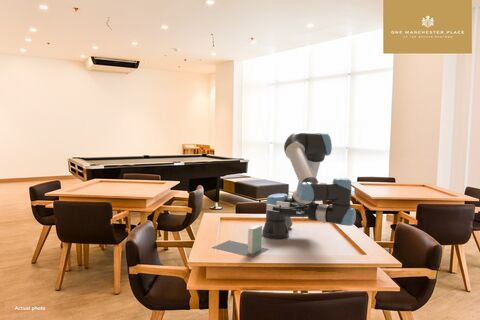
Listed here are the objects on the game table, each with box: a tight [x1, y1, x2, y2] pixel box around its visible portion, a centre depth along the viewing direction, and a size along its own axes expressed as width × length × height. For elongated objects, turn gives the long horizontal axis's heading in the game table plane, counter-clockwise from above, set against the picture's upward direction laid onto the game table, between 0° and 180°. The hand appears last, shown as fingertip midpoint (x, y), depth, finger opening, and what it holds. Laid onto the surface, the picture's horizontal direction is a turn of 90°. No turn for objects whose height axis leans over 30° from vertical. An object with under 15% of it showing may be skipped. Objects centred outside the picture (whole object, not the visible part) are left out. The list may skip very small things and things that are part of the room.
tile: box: [247, 224, 263, 254], centre depth 179 cm, size 3×8×12 cm, turn 148°
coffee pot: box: [258, 202, 293, 230], centre depth 228 cm, size 21×12×15 cm, turn 87°
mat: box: [211, 240, 270, 259], centre depth 184 cm, size 24×16×1 cm, turn 58°
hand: (272, 205), depth 173 cm, fingers open, 9 cm apart
